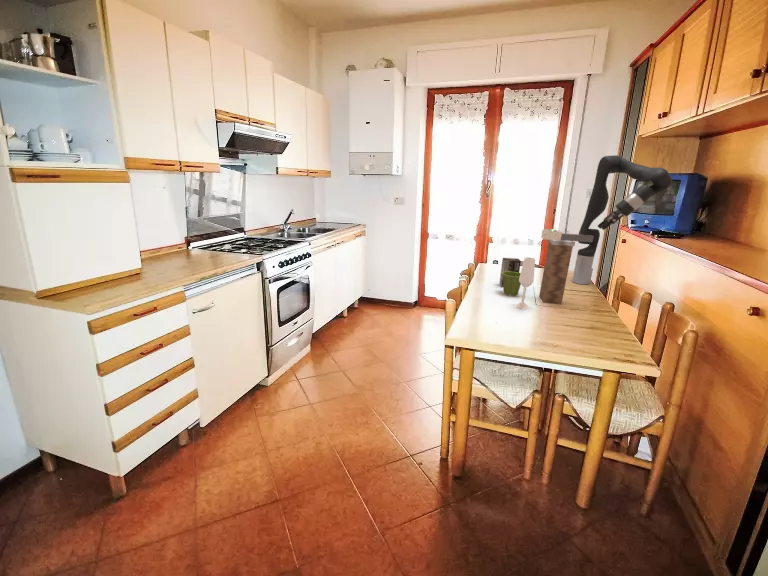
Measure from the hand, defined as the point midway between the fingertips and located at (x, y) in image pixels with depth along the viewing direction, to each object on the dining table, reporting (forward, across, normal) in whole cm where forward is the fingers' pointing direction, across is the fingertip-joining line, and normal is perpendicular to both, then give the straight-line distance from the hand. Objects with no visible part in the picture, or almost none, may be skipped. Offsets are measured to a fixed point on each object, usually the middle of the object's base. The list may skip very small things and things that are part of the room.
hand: (600, 227), depth 192 cm
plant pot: (+54, +8, -4) cm, 55 cm away
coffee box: (+55, -7, -6) cm, 56 cm away
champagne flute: (+51, +26, +1) cm, 57 cm away
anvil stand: (+41, +10, +11) cm, 44 cm away
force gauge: (+15, +11, -7) cm, 20 cm away
